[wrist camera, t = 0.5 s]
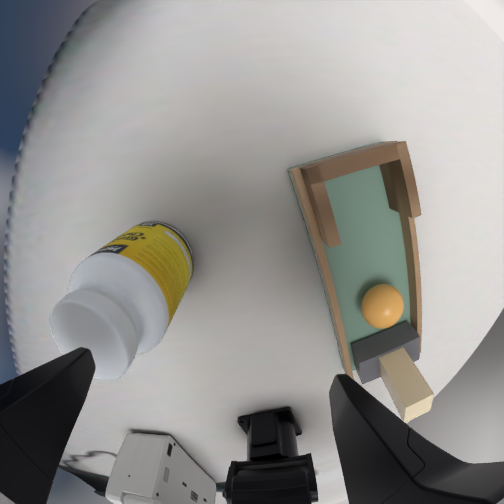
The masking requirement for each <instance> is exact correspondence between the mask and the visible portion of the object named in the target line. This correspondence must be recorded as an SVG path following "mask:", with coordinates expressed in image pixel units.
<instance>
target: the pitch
mask: <svg viewBox="0 0 504 504" xmlns="http://www.w3.org/2000/svg"><path fill="white" fill-rule="evenodd" d="M389 142H397V141H389ZM380 143H388V142H380ZM380 143H376V144H380ZM376 144H372V145H376ZM372 145H368V146H372ZM368 146H365V147H368ZM361 148H364V147H361ZM361 148H357V149H361ZM357 149H353V150H357ZM353 150H350V151H353ZM350 151H346V152H350ZM346 152H343V153H346ZM343 153H339V154H343ZM339 154H336V155H339ZM336 155H332V156H336ZM332 156H329V157H332ZM329 157H325V158H329ZM325 158H322V159H325ZM322 159H319V160H322ZM319 160H315V161H319ZM315 161H312V162H315ZM312 162H309V163H312ZM309 163H306V164H309ZM306 164H302V165H306ZM302 165H299V166H302ZM299 166H296V167H299ZM296 167H293V168H290V169H288V172H289V175H290V178H291V181H292V184H293V187H294V190H295V193H296V196H297V199H298V202H299V205H300V208H301V211H302V214H303V218H304V221H305V224H306V227H307V231H308V234H309V237H310V240H311V244H312V247H313V251H314V254H315V258H316V261H317V265H318V268H319V272H320V275H321V279H322V283H323V286H324V290H325V294H326V298H327V301H328V305H329V309H330V313H331V317H332V321H333V325H334V330H335V334H336V338H337V342H338V347H339V351H340V356H341V360H342V365H343V368H344V371H345V374H347V375H349V376H350V377H351V378H352V379H353V373H352V371H353V370H355V369H356V368H355V366H354V360H353V355H352V349H351V344H352V343H355V342H358V341H360V340H363V339H365V338H368V337H370V336H373V335H375V334H378V333H380V332H383V331H385V330H387V329H390V328H392V327H394V326H397V325H399V324H401V323H403V322H405V321H408V322H409V323H410V324H411V326H412V327H413V328H414V329H415V330H416V332H417V333H418V334H419V335H420V353H421V335H422V299H421V277H420V264H419V253H418V244H417V236H416V228H415V221H414V218H410V217H408V216H406V215H404V214H401V213H399V212H397V211H394V210H392V209H390V208H389V204H388V199H387V195H386V191H385V186H384V182H383V178H382V174H381V170H380V166H379V165H377V166H374V167H370V168H367V169H363V170H360V171H357V172H353V173H350V174H347V175H343V176H340V177H337V178H334V179H330V180H327V181H324V184H325V187H326V190H327V194H328V197H329V200H330V204H331V207H332V211H333V215H334V218H335V222H336V226H337V229H338V233H339V237H340V241H341V244H340V245H337V246H335V247H332V248H329V247H328V246H327V245H326V244H325V242H324V241H323V240H322V238H321V235H320V231H319V228H318V224H317V221H316V218H315V214H314V211H313V208H312V204H311V201H310V198H309V195H308V192H307V189H306V185H305V182H304V179H303V176H302V173H301V170H300V168H296ZM379 284H388V285H391V286H393V287H395V288H396V289H397V290H398V291H399V292H400V293H401V295H402V297H403V301H404V310H403V313H402V316H401V318H400V319H399V320H398V322H397V323H395V324H394V325H393V326H391V327H388V328H385V329H379V328H375V327H372V326H371V325H369V324H368V323H367V322H366V321H365V319H364V317H363V315H362V311H361V304H362V300H363V297H364V295H365V294H366V292H367V291H368V290H369V289H370V288H372V287H374V286H376V285H379ZM353 380H354V379H353Z"/></svg>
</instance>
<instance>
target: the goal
mask: <svg viewBox="0 0 504 504" xmlns="http://www.w3.org/2000/svg"><path fill="white" fill-rule="evenodd" d="M377 165H379V166H380V170H381V174H382V178H383V182H384V186H385V191H386V195H387V199H388V204H389V208H390V209H392V210H394V211H397V212H399V213H401V214H404V215H406V216H408V217H410V218H415V217H417V216H420V215H421V209H420V203H419V197H418V192H417V187H416V182H415V177H414V172H413V168H412V164H411V160H410V155H409V152H408V148H407V144H406V141H403V142H388V143H380V144H376V145H372V146H368V147H364V148H361V149H357V150H353V151H350V152H346V153H343V154H339V155H336V156H332V157H329V158H325V159H322V160H319V161H315V162H312V163H309V164H306V165H302V166H299V167H296V168H300V170H301V173H302V176H303V179H304V182H305V185H306V189H307V192H308V195H309V198H310V201H311V204H312V208H313V211H314V214H315V218H316V221H317V224H318V228H319V231H320V235H321V238H322V240H323V241H324V242H325V244H326V245H327V246H328V247H329V248H332V247H335V246H337V245H340V244H341V241H340V237H339V233H338V229H337V226H336V222H335V218H334V215H333V211H332V207H331V204H330V200H329V197H328V194H327V190H326V187H325V184H324V181H327V180H330V179H334V178H337V177H340V176H343V175H347V174H350V173H353V172H357V171H360V170H363V169H367V168H370V167H374V166H377Z"/></svg>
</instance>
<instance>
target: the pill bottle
mask: <svg viewBox="0 0 504 504" xmlns="http://www.w3.org/2000/svg"><path fill="white" fill-rule="evenodd" d="M193 268H194V260H193V254H192V251H191V248H190V246H189V244H188V242H187V241H186V239H185V238H184V237H183V236H182V235H181V234H180V233H179V232H178V231H177V230H176V229H174V228H173V227H171V226H169V225H167V224H164V223H160V222H145V223H141V224H138V225H136V226H134V227H133V228H131V229H130V230H128V231H127V232H125V233H124V234H122V235H120V236H119V237H117V238H116V239H114V240H113V241H111V242H110V243H108V244H107V245H105V246H104V247H102V248H101V249H99V250H98V251H96V252H95V253H93V254H92V255H90V256H89V257H88V258H86V259H85V260H84V261H82V262H81V263H80V264H79V265H78V266H77V268H76V269H75V270H74V272H73V274H72V276H71V278H70V281H69V286H68V294H67V295H66V296H65V297H64V298H63V299H62V300H61V301H60V302H59V303H57V304H56V305H55V307H54V308H53V310H52V312H51V315H50V328H51V333H52V336H53V338H54V341H55V343H56V345H57V346H58V348H59V349H60V351H61V352H62V353H63V355H64V354H66V353H69V352H71V351H73V350H75V349H77V348H79V347H84V348H88V349H90V350H91V352H92V356H93V359H94V362H95V366H96V369H95V373H94V376H93V377H95V378H98V379H104V380H113V379H117V378H119V377H121V376H122V375H124V374H125V373H126V371H127V370H128V368H129V366H130V365H131V363H132V361H133V360H134V358H135V356H136V355H140V354H144V353H146V352H148V351H150V350H151V349H153V348H154V347H155V346H156V345H157V344H158V343H159V342H160V341H161V340H162V338H163V336H164V334H165V333H166V330H167V328H168V326H169V324H170V322H171V320H172V318H173V316H174V313H175V311H176V309H177V307H178V305H179V303H180V301H181V299H182V297H183V294H184V292H185V290H186V288H187V286H188V284H189V282H190V279H191V277H192V274H193Z"/></svg>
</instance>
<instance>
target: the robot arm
mask: <svg viewBox="0 0 504 504" xmlns="http://www.w3.org/2000/svg"><path fill="white" fill-rule="evenodd" d="M95 369H96V366H95V362H94V359H93V356H92V352H91V350H90V349H88V348H84V347H79V348H77V349H75V350H73V351H71V352H69V353H66V354H64V355H62V356H60V357H58V358H56V359H54V360H52V361H50V362H48V363H45V364H43V365H41V366H39V367H37V368H35V369H33V370H31V371H28V372H26V373H24V374H22V375H20V376H18V377H16V378H14V379H11V380H9V381H7V382H5V383H3V384H0V504H46V503H47V500H48V496H49V493H50V489H51V487H52V484H53V480H54V477H55V474H56V471H57V469H58V466H59V463H60V460H61V458H62V455H63V452H64V450H65V447H66V445H67V442H68V440H69V437H70V435H71V432H72V430H73V427H74V425H75V423H76V420H77V418H78V416H79V413H80V411H81V409H82V407H83V404H84V402H85V399H86V396H87V393H88V390H89V387H90V384H91V381H92V379H93V376H94V373H95ZM329 397H330V406H331V415H332V425H333V432H334V436H335V441H336V445H337V449H338V454H339V458H340V463H341V467H342V472H343V476H344V481H345V486H346V491H347V495H348V500H349V504H504V462H493V463H478V464H472V463H467V462H463V461H461V460H459V459H457V458H455V457H454V456H452V455H450V454H449V453H447V452H445V451H444V450H442V449H440V448H439V447H437V446H436V445H434V444H433V443H431V442H430V441H428V440H426V439H425V438H424V437H423V436H421V435H420V434H418V433H417V432H416V431H415V430H413V429H412V428H411V427H410V428H409V426H408V425H407V424H406V423H405V422H404V421H402V420H401V419H400V418H399V417H397V416H396V415H395V414H394V413H393V412H391V411H390V410H389V409H388V408H387V407H385V406H384V405H383V404H382V403H381V402H379V401H378V400H377V399H376V398H375V397H373V396H372V395H371V394H370V393H369V392H367V391H366V390H365V389H364V388H363V387H362V386H360V385H359V384H358V383H357V382H356V381H354V380H353V379H352V378H351V377H350V376H349V375H347V374H337V375H336V376H335V377H334V380H333V383H332V385H331V388H330V392H329ZM237 422H238V424H239V425H240V426H241V427H242V429H243V430H244V431H245V433H246V434H247V435H248V437H247V461H240V462H237V461H231V465H230V467H229V471H228V475H227V480H226V485H225V488H224V491H223V494H222V495H223V497H224V498H225V499H226V501H227V504H311V503H312V502H318V491H317V483H316V477H315V472H314V467H313V462H312V457H311V453H308V454H306V455H301V456H298V449H297V441H296V436H299V435H301V434H302V430H301V428H300V426H299V424H298V422H297V420H296V418H295V416H294V414H293V412H292V410H291V408H289V407H286V408H282V409H278V410H273V411H269V412H264V413H260V414H255V415H250V416H244V417H239V418H238V421H237Z"/></svg>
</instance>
